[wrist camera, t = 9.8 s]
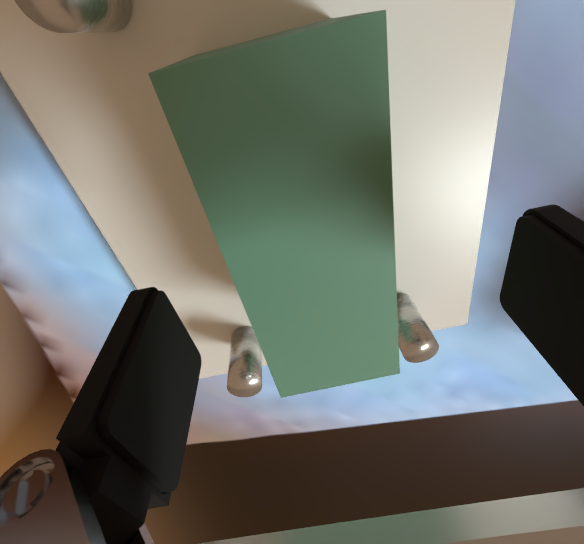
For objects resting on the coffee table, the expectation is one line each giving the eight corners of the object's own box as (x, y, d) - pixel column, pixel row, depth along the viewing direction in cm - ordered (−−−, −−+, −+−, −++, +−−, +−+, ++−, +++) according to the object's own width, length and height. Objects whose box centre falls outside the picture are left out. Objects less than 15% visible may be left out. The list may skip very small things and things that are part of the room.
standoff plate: (527, -259, 9) (715, -458, 5) (458, 310, 22) (499, 368, 18) (-71, -83, 10) (-264, -150, 6) (197, 365, 23) (185, 431, 19)
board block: (331, 18, 12) (386, 10, 7) (362, 283, 19) (399, 373, 14) (192, 55, 12) (148, 73, 7) (274, 303, 19) (281, 397, 14)
